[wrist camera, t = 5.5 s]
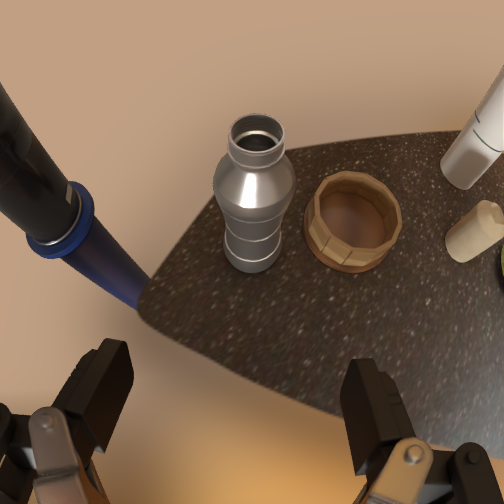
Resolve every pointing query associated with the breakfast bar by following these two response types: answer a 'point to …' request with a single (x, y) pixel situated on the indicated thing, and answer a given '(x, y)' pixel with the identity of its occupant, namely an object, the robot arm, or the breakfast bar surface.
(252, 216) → the silver metal bottle
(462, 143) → the cylindrical container
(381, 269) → the breakfast bar surface
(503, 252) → the mat
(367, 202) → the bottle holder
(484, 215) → the candle
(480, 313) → the breakfast bar surface
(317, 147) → the breakfast bar surface
